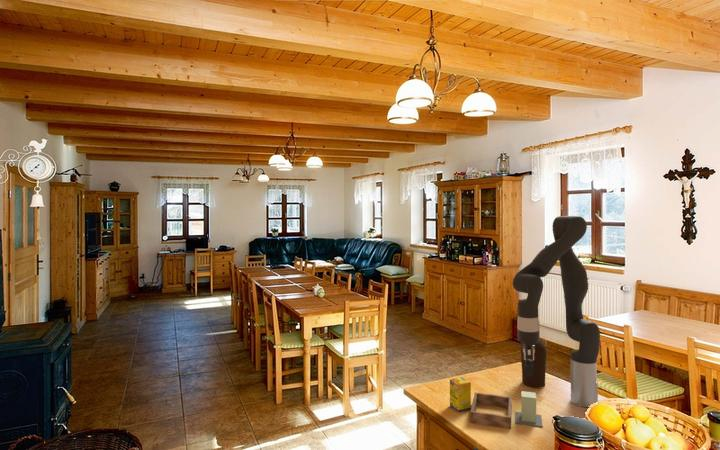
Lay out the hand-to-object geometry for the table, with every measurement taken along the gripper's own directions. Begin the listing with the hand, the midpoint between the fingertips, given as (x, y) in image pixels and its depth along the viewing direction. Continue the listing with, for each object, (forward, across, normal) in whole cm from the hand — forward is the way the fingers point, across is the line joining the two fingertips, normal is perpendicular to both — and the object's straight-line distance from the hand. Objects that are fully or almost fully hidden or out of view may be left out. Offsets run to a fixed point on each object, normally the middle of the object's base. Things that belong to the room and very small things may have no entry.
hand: (529, 372), depth 159 cm
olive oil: (+18, +36, -3) cm, 40 cm away
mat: (+18, 0, 0) cm, 18 cm away
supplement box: (+18, +2, +25) cm, 31 cm away
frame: (+18, 0, +13) cm, 22 cm away
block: (+17, 0, 0) cm, 17 cm away
